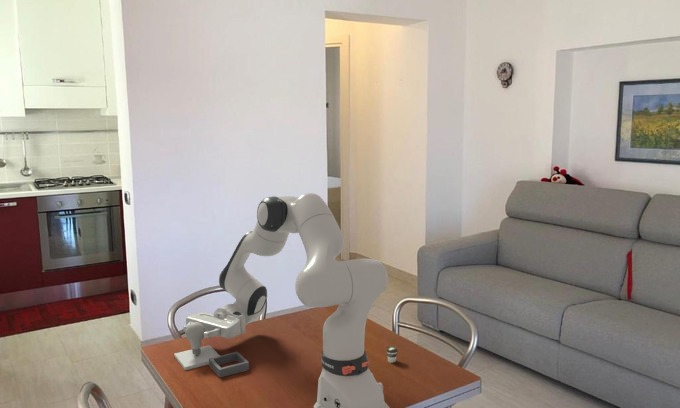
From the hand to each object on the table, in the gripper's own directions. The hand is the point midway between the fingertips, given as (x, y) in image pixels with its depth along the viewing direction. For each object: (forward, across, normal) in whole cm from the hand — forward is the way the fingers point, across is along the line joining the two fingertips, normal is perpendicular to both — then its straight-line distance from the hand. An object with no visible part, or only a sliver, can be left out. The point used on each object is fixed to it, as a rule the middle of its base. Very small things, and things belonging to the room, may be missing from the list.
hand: (194, 332), depth 180 cm
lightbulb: (-1, 0, +8) cm, 8 cm away
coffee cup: (-32, +54, +10) cm, 63 cm away
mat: (-1, 0, +9) cm, 9 cm away
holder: (-1, +14, +9) cm, 16 cm away
